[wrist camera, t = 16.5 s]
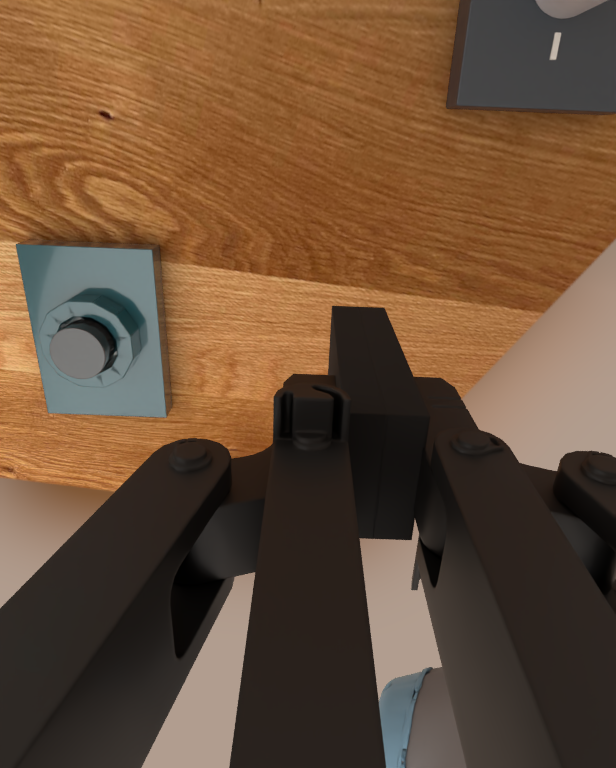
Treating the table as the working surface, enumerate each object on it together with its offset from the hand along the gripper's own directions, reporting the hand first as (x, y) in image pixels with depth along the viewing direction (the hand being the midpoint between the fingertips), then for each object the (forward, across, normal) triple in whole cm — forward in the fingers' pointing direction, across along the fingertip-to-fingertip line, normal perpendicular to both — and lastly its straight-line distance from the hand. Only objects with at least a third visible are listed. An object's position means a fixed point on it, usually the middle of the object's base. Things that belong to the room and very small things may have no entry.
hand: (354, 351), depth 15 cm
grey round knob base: (+26, -18, -9) cm, 33 cm away
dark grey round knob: (+23, -18, -9) cm, 30 cm away
